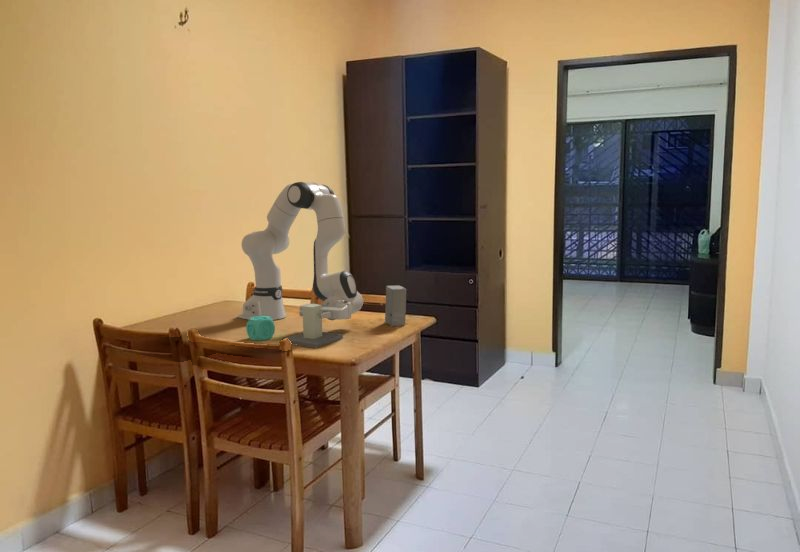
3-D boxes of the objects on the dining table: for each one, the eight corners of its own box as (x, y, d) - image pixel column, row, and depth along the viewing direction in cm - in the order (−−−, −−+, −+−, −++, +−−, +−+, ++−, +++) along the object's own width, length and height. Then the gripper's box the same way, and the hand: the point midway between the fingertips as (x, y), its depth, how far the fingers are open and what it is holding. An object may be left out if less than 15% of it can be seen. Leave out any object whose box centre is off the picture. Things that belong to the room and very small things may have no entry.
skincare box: (384, 322, 258) (383, 285, 256) (400, 321, 261) (399, 284, 259) (391, 326, 251) (390, 288, 248) (407, 325, 253) (406, 287, 251)
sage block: (303, 337, 230) (302, 306, 228) (312, 334, 234) (310, 303, 232) (313, 338, 227) (312, 307, 225) (322, 336, 231) (321, 304, 230)
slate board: (282, 343, 228) (282, 339, 228) (310, 333, 242) (310, 330, 241) (316, 348, 220) (315, 344, 220) (343, 338, 233) (342, 334, 233)
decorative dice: (264, 334, 242) (263, 314, 241) (275, 337, 237) (274, 317, 235) (246, 338, 237) (245, 318, 236) (257, 341, 231) (256, 321, 230)
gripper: (312, 298, 245) (289, 304, 233) (353, 302, 234) (331, 309, 223) (313, 314, 246) (289, 320, 234) (354, 318, 235) (332, 326, 224)
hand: (310, 315), depth 228 cm, fingers open, 8 cm apart
